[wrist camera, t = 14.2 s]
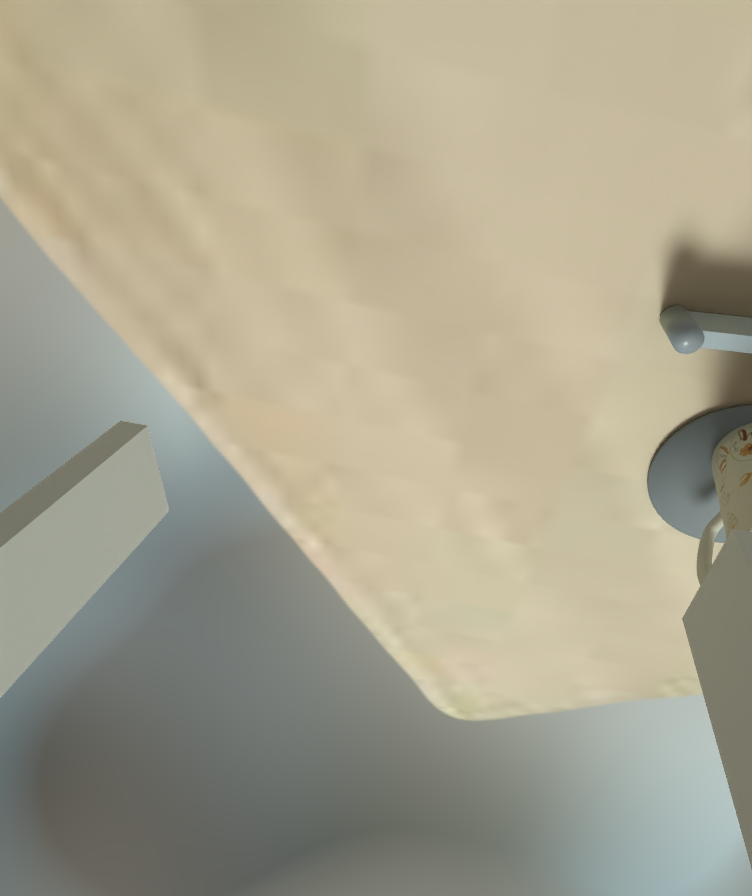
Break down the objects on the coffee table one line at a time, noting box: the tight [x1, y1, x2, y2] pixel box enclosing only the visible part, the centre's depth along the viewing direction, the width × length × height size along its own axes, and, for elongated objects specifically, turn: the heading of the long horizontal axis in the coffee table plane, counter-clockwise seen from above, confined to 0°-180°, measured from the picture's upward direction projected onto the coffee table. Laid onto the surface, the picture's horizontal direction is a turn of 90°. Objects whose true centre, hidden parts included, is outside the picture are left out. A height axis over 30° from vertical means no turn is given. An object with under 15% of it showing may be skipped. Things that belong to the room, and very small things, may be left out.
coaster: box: [647, 404, 752, 543], centre depth 37 cm, size 12×12×1 cm
